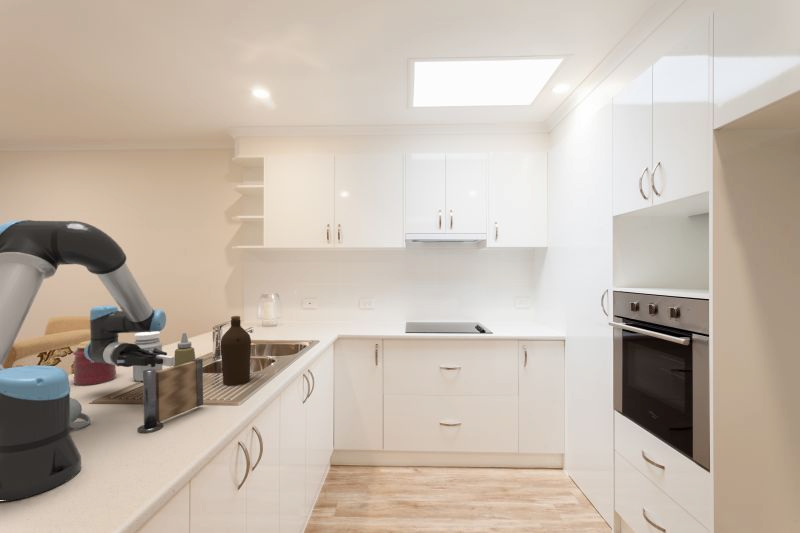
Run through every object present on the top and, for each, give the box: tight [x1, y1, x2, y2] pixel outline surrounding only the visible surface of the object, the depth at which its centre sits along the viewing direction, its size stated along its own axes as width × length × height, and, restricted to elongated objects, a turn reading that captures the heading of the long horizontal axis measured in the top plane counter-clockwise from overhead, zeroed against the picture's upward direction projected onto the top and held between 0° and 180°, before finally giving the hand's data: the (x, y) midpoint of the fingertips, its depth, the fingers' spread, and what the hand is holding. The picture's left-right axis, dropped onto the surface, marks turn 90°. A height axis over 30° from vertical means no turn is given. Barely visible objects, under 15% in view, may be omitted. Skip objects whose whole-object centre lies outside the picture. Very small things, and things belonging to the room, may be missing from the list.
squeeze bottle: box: [172, 332, 196, 367], centre depth 147 cm, size 8×8×18 cm
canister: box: [72, 338, 117, 386], centre depth 146 cm, size 13×13×18 cm
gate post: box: [136, 369, 164, 434], centre depth 103 cm, size 6×6×16 cm
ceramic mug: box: [70, 397, 92, 429], centre depth 104 cm, size 11×8×8 cm
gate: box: [156, 357, 204, 422], centre depth 112 cm, size 14×2×14 cm, turn 158°
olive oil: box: [220, 315, 252, 387], centre depth 143 cm, size 11×11×25 cm
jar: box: [132, 331, 163, 383], centre depth 148 cm, size 10×10×18 cm
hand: (172, 361), depth 117 cm, fingers closed
